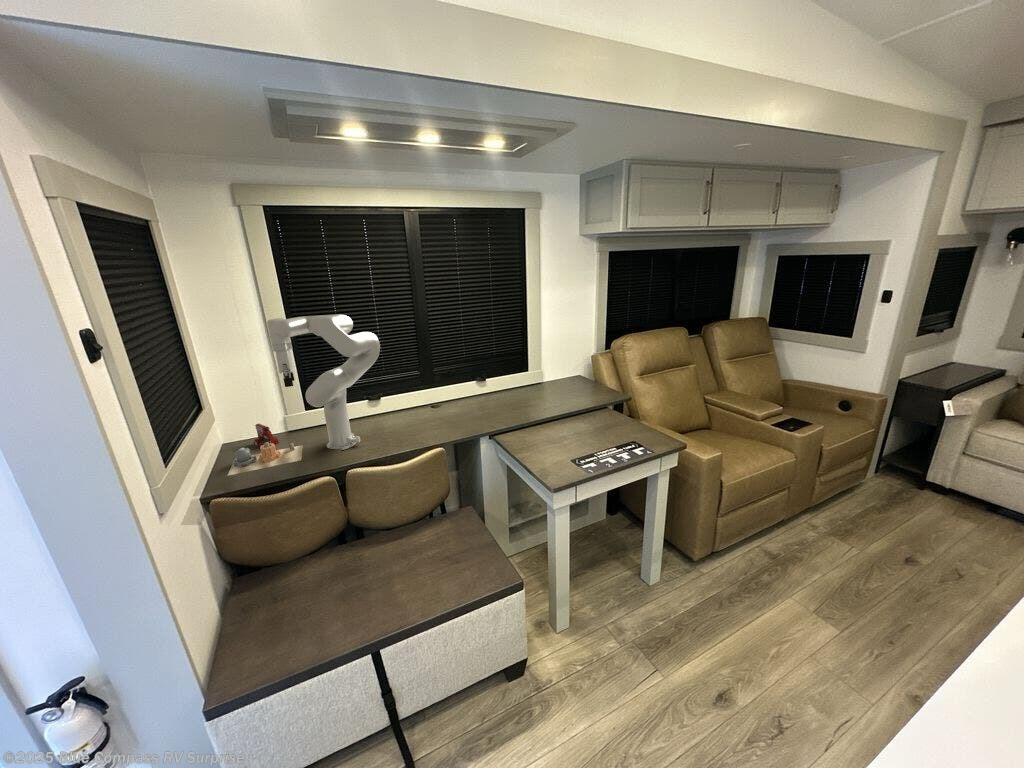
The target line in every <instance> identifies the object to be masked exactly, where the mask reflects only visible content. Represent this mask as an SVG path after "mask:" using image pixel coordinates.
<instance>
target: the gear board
mask: <svg viewBox="0 0 1024 768" xmlns="http://www.w3.org/2000/svg"><path fill="white" fill-rule="evenodd" d="M303 446H304V445H303V444H302V445H296V446H295V445H294V443H293V442H292V443H288V447H287V448H280V449H276V451H280V454H281V455H280V458H276V459H275V460H274V461H267V462H264V461H261V462H260V461H259V455H261V452H260V453H256V454H251V456H256V459H257V460H256V462H255V463H252V464H250V466H243V467H241V468H238V466H236V467H234V465H233V463H234V461H233V462H232V465H231V466H230V468H229V471H228V474H227V475H226V476H227V477H229V476H234V475H238V474H242V473H247V472H253V471H257V470H260V469H265V468H266V469H267V468H270V467H271V468H272V467H276V466H281V465H285V464H289V463H294V462H299V461H302V458H303ZM264 447H265V448H267V447H270V446H269V442H266V443H264ZM235 459H237V458H236V457H235V458H234V460H235Z"/></svg>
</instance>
